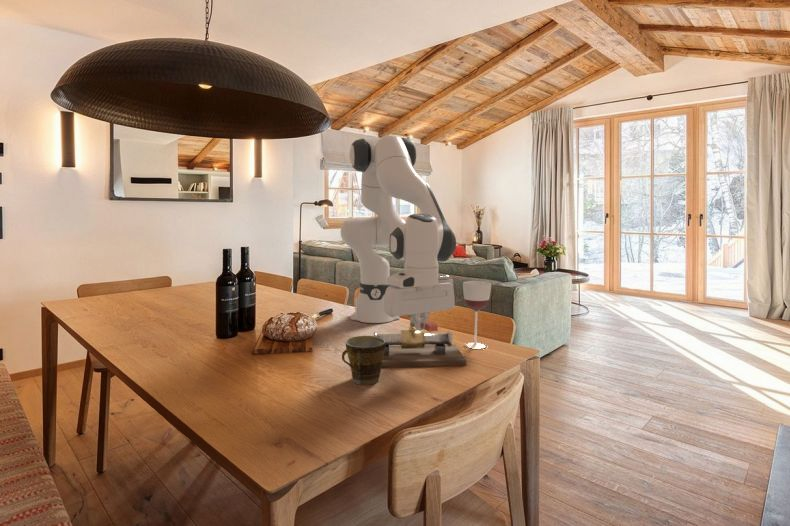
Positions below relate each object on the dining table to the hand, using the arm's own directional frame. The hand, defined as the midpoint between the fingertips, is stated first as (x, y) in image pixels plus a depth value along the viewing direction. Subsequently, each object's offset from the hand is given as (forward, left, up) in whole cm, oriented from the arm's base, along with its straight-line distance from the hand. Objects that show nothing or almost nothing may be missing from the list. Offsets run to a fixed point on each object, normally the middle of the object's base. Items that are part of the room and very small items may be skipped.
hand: (420, 329), depth 119 cm
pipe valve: (-10, -1, -10) cm, 14 cm away
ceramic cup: (+7, -15, -11) cm, 20 cm away
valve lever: (-4, +1, -2) cm, 5 cm away
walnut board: (-10, -1, -11) cm, 15 cm away
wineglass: (-20, +20, -11) cm, 31 cm away
